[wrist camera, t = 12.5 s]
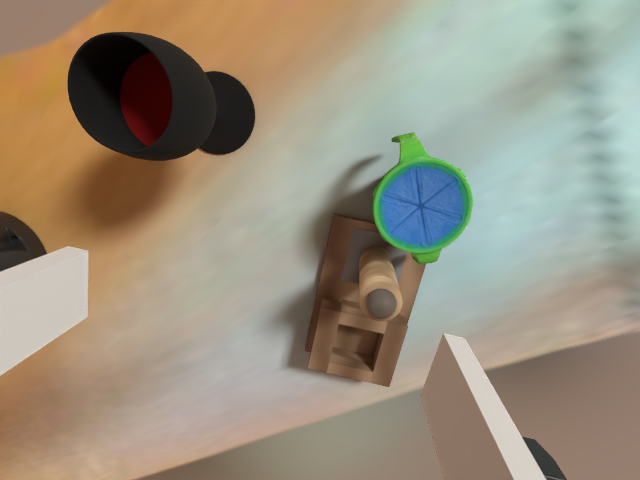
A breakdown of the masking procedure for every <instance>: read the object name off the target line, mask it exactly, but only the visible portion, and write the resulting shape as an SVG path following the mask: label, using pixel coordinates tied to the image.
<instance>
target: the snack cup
mask: <svg viewBox="0 0 640 480" xmlns="http://www.w3.org/2000/svg"><path fill="white" fill-rule="evenodd" d="M392 142H400V159H399V163H398V164H397V165H396V166H395V167H393V168H392V169H391V170H390V171H388V172H387V173H386V174H385V176H384V177H383V178H382V179H381V181H380V182H379V184H378V185H377V186H376V187H375V189H374V192H373V195H372V197H373V202H372V213H373V219H374V222H375V224H376V227H377V229H378V230H379V232H380V236H381V237H382V238H383V239H384V240H385V241H387V242H389V243H390V244H391V245H392V246H394V247H396V248H398V249H400V250H403V251H406V252H410V253H412V254H411V255H412V259H414V261H416V262H417V263H418V264H420V265H422V264H426V263H433V262H435V261H437V259H438V257H439V255H440V252H441V249H442V248H443V247H445V246H447V245H449V244H450V243H452V242H453V241H454V240H455V239H457V238H458V237H459V236H460V234H461V233H462V232H463V231H464V229H465V227H466V226H467V225H468V223H469V220H470V216H471V212H472V206H473V198H472V192H471V189H470V186H469V184H468V182H467V180H466V178H465V175H464V173H463V172H462V171H461V170H460V169H457V168H456V167H454V166H453V165H451V164H449V163H447V162H445V161H443V160H440V159H436V158H432V157H430V156H429V155H428V154H427V152H426V151H425V149H424V147H423V145H422V144H421V142H420V141H419V139H418V137H417V136H416V135H415V133H409V134H404V135H400V136H396V137H393V138H392Z"/></svg>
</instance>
